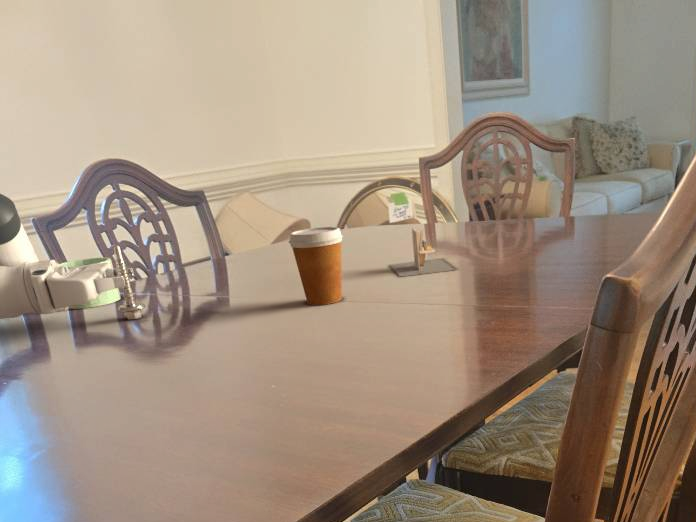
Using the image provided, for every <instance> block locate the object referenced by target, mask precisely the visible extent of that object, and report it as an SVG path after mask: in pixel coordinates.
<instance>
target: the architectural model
mask: <svg viewBox="0 0 696 522" xmlns="http://www.w3.org/2000/svg"><path fill="white" fill-rule="evenodd" d="M411 235H412V236H411V237H412V249H413V262H406V263H398V264H397V263H396V264H390V265H389V266H390V268H392V269H393V270H394V272H396V274H398V276H399V277H402V278H403V277H408V276H416V275H417V276H418V275H424V274H425V275H426V274H433V273H442V272H449V271H455V270H456V269H455V268H454V267H452V266H451V264H448V263H447V262H446V261H444V260H443V258H439V259H430V260H426V254H430V253H431V254H432V253H436V249H435V248H433V247H432V246H431V245H427V241H425V240H423V239H424V238H423V237H424V229H414V228H411Z"/></svg>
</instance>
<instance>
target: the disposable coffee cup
mask: <svg viewBox="0 0 696 522" xmlns="http://www.w3.org/2000/svg"><path fill="white" fill-rule="evenodd" d="M342 241H343V234H342V233H341V230H340V227H338V226H320V227H311V228H305V229H299V230H295V231H291V232H290V234H289V240H288V244H290V248H292V252H293V256H294V260H295V263H296V267H297V270H298V273H299V274H298V275H299V277H300V281H301V284H302V288H303V292H304V295H305V299H306V303H307V305H312V306H319V305H323V306H324V305H330V304H334V303H338V302H340V301H342V299H343V296H342V295H343V294H342V293H343V291H342V290H343V289H342V288H343V287H342V286H343V285H342Z"/></svg>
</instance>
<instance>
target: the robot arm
mask: <svg viewBox="0 0 696 522" xmlns="http://www.w3.org/2000/svg"><path fill="white" fill-rule="evenodd" d="M59 264H60V263H58V262H57V260H55V259H48V260H47V259H46V260H39V258H38V255H37V253H36V252H35V249H34V247H33V245H32V242H31V240H30V239H29V236H28V234H27V232H26V230H25V228H24V226H23V223H22V222H21V217H20V215H19V212H18V209H17V208H16V205H15V203H14V201H13V200H12V199H11V198H10V197H8V196H6V195H5V194H2V193H0V320H5V319H11V318H12V319H14V318H18V317H20V316H22V315H27V314H33V315H49V314H54V313H59V312H60V313H61V312H67V311H68V310H70V309H69V307H70V306H74V305H79V304H83V303H87V302H90V301H93V300H94V299H95V298H97V297H98V296H99V295H100V294H101V293H102V292H105V291H109V290H112V289H116V288H119V289H122V288H123V287H125V285H126V281H125V277H124V276H118V275H119V274H118V272H117V271H118V270H117V269H116V268H117V267H113V268H111V265H110V264H109V263H98V264H90V265H84V266H78V267H73V268H70V269H68V268H67V267H66V266H61V267H60V266H59ZM126 268H127V272H128V273H127V274H128V275H129V276H128V278H130V279H129V280H132V279H133V278H135V272H134V269H133V268H132V267H126Z"/></svg>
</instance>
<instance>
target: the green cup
mask: <svg viewBox="0 0 696 522" xmlns="http://www.w3.org/2000/svg"><path fill="white" fill-rule="evenodd" d="M98 263H109V264H110V265H111V268H114V265H113V262H112V259H111V258H110V257H107V256H106V257H92V258H90V257H89V258H81V259H75V260H70V261H69V260H68V261H64V262H61V263H58V264H59V266H60V267H61V266H66V267H67V268H68V269H70V268H73V267H78V266H84V265H90V264H98ZM121 298H122V297H121V292H120V288H116V289H112V290H109V291H105V292H102V293H101V294H100V295H99V296H98V297H97V298H95V299H94V300H93V301H90V302H87V303H83V304H79V305H74V306H70V307H69V309H68V310H82V309H89V308H96V307H101V306H106V305H109V304H113V303H115V302H118V301H120V300H121Z"/></svg>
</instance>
